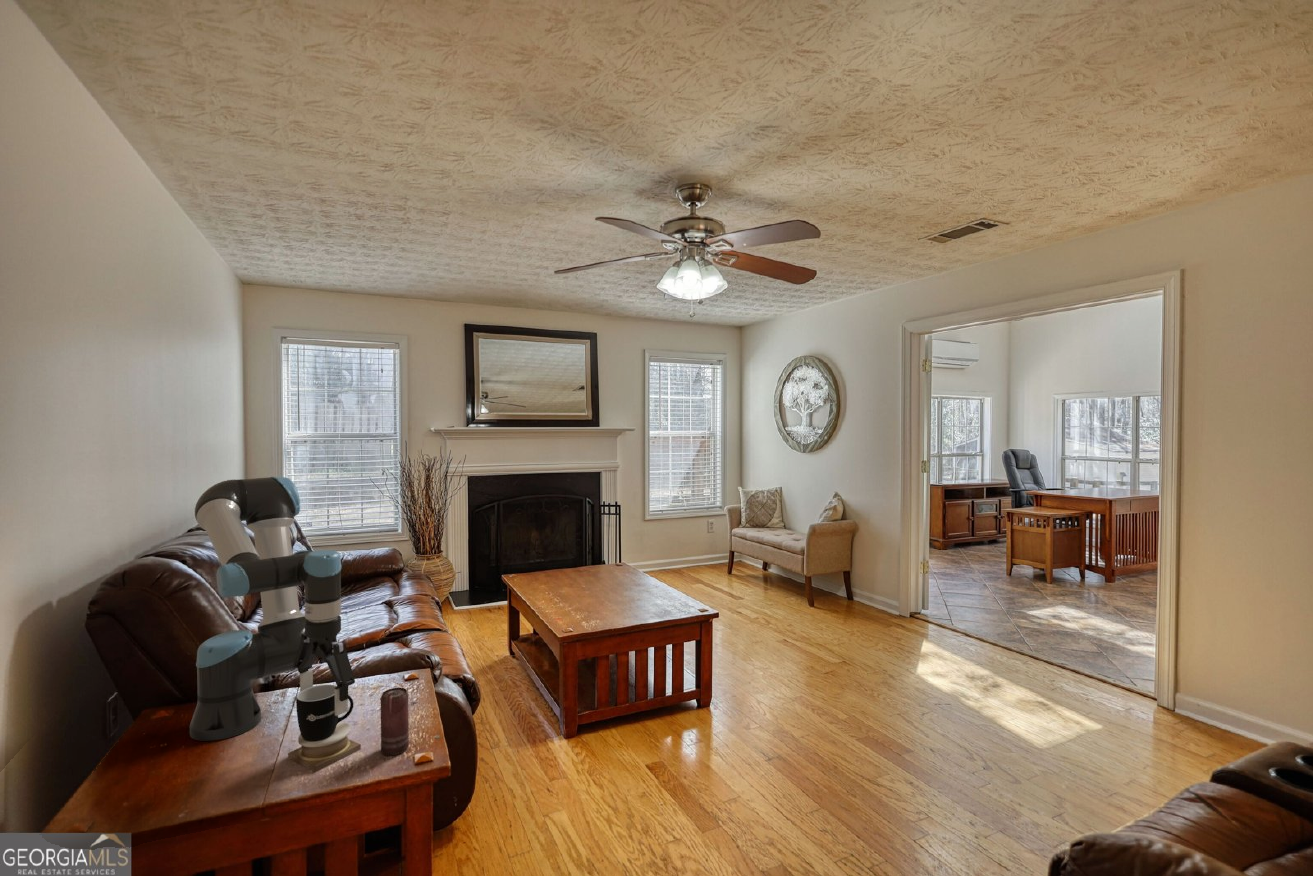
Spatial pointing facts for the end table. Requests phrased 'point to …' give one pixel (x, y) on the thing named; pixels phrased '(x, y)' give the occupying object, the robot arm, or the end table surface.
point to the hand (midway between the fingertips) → (323, 705)
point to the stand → (325, 749)
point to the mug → (318, 712)
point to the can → (394, 721)
